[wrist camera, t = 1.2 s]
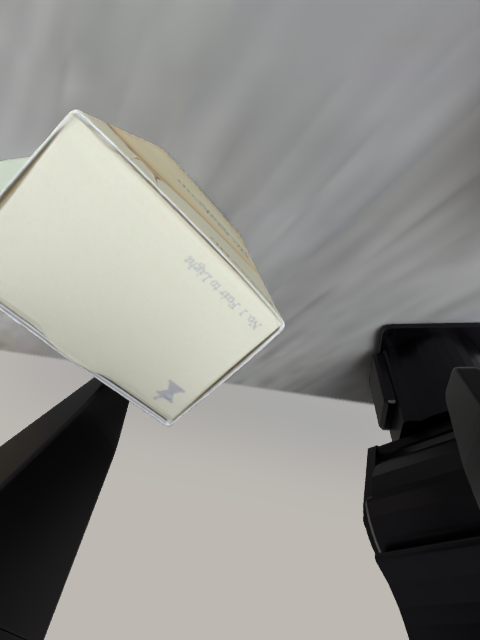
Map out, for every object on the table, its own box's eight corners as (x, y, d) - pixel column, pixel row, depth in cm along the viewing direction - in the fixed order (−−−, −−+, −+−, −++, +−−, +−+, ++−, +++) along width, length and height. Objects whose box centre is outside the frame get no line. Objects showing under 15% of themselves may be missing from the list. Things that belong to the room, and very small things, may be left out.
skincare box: (242, 236, 19) (302, 329, 8) (187, 287, 20) (172, 436, 9) (158, 142, 17) (77, 89, 6) (100, 206, 17) (-70, 270, 6)
